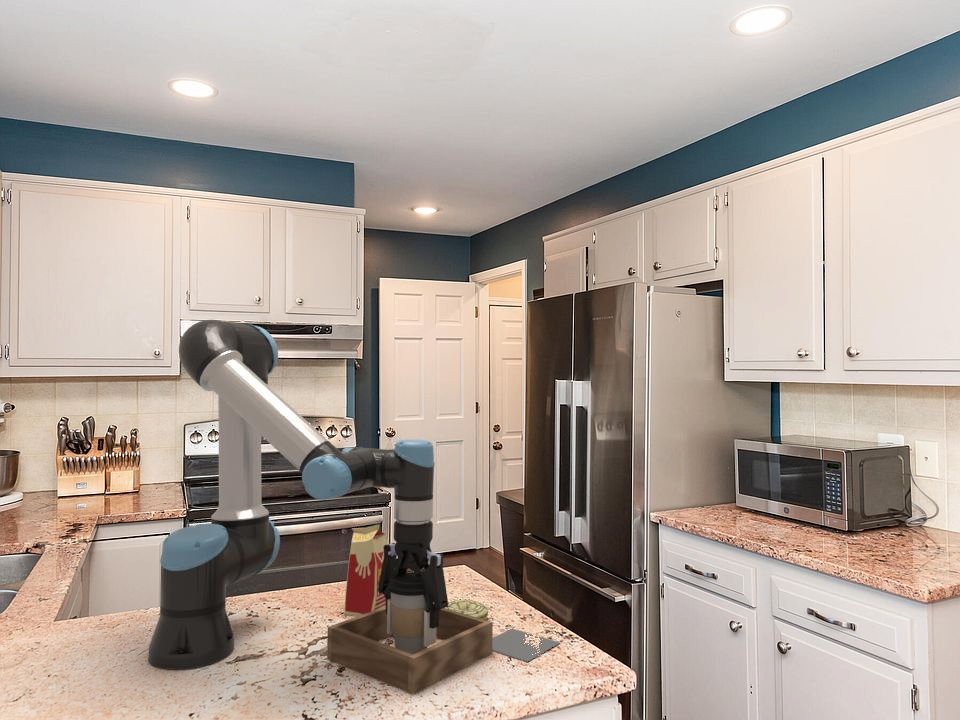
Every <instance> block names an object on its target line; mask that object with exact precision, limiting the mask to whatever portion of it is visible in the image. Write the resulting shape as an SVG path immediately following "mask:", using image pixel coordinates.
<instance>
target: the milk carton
mask: <svg viewBox="0 0 960 720" xmlns="http://www.w3.org/2000/svg"><path fill="white" fill-rule="evenodd" d="M380 526H381V525H380V524H375V525H371V526H367V527H358V528H357V527H356V528H355V527H354V528H351V530H352V531H353V533H352V539H351V543H350V551H349V557H348V564H347V566H348V567H347V575H346V587H345V598H344V614H343V615H349V616H353V617H357V616H360V615H363V614H366V613H368V612H371V611H374V610H377V609H380V608H382V607H385V606H386V598H385V597H384V594H382V593H379V592H378V586H379V580H380V575H381V570H382V565H383V559H384V545H387V544H388V543H387V537H386V534H385V533H384V532H382V531H381V530H380Z"/></svg>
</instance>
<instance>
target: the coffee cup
mask: <svg viewBox="0 0 960 720" xmlns="http://www.w3.org/2000/svg"><path fill="white" fill-rule="evenodd" d="M388 591H389V592H391V615H392V628H393V633H394V635H393V640H394V648H397V649H400V650H403V651H405V652H408V653H411V654H416V653H418V652H420V651H422V650H424V649H427V648H429V646H427V647H426V646H424V611H425V610H427V609H428V608H427V605H426V602H425V598H424V595H425V590H424V589H423V583H421V582H419V580H418V577H417V576H415V573H414V571H407V572H406V574H404V575H401V576H398V577H396V576H395V575H394V576H393V577H392V580H391V582H389V584H388ZM433 604H434V602H433Z"/></svg>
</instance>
